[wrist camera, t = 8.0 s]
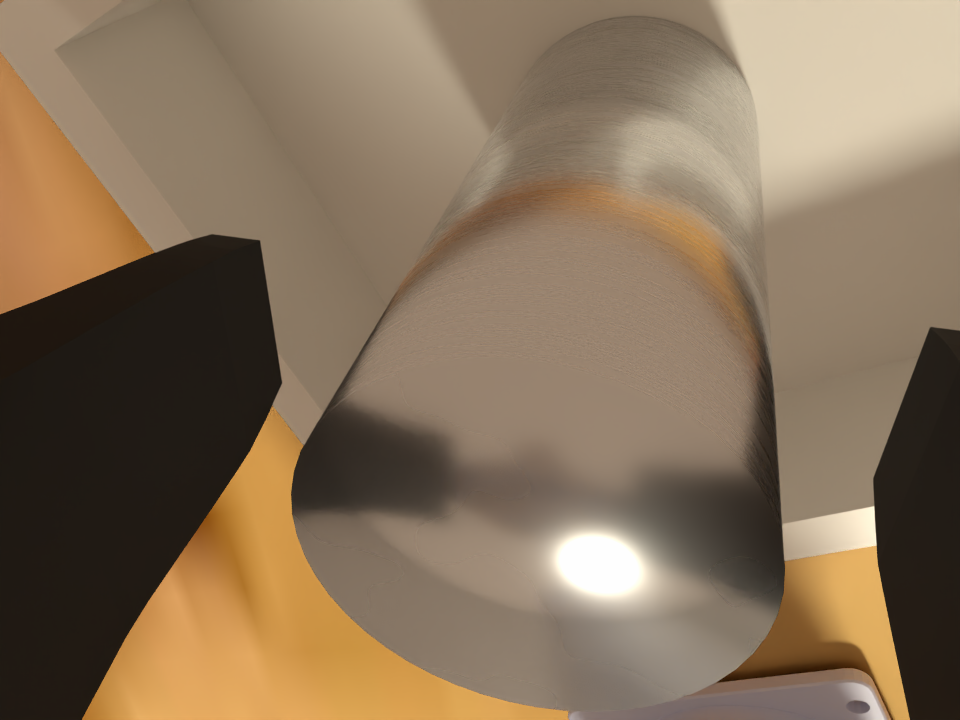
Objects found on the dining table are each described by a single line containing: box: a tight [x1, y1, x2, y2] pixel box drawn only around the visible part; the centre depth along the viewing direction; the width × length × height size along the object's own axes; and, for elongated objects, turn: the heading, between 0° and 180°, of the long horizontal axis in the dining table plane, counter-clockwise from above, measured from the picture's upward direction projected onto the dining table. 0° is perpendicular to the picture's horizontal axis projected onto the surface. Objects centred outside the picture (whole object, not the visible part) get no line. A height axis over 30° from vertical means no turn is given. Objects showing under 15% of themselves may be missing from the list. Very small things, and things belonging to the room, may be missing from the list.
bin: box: [0, 0, 960, 561], centre depth 13 cm, size 13×13×4 cm
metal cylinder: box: [291, 16, 785, 712], centre depth 11 cm, size 4×4×9 cm
